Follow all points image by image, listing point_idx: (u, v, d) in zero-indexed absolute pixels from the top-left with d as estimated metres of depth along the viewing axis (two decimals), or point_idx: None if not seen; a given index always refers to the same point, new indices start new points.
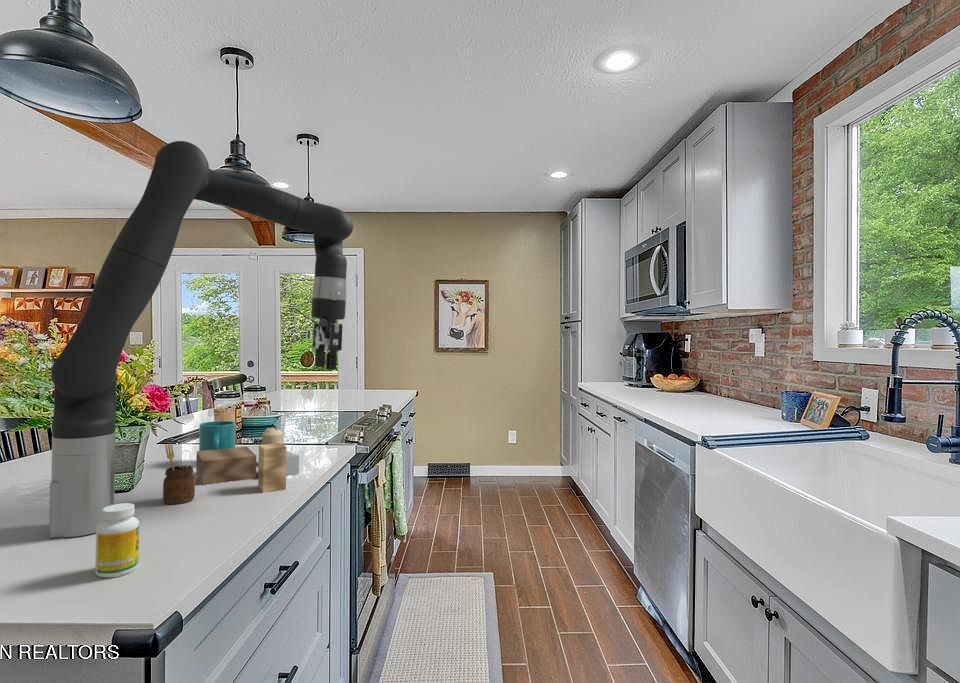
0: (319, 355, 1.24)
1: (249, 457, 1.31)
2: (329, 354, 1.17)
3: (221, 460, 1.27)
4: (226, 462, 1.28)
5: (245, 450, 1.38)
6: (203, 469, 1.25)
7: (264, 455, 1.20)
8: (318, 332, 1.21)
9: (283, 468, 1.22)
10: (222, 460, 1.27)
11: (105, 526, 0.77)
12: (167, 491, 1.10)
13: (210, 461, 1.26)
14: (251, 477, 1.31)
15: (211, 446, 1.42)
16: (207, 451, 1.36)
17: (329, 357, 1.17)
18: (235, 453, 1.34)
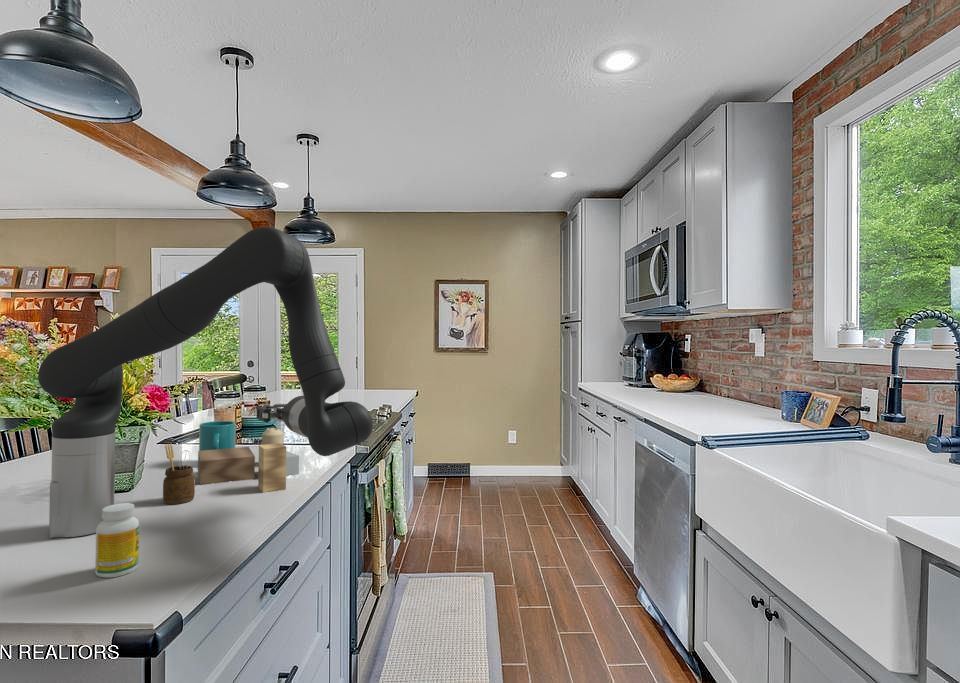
0: None
1: (247, 457, 1.30)
2: None
3: (219, 460, 1.27)
4: (224, 462, 1.28)
5: (246, 450, 1.37)
6: (201, 469, 1.25)
7: (264, 455, 1.20)
8: None
9: (283, 468, 1.22)
10: (220, 460, 1.27)
11: (105, 526, 0.77)
12: (167, 491, 1.10)
13: (208, 461, 1.26)
14: (249, 477, 1.31)
15: (211, 446, 1.42)
16: (208, 451, 1.36)
17: None
18: (235, 453, 1.34)
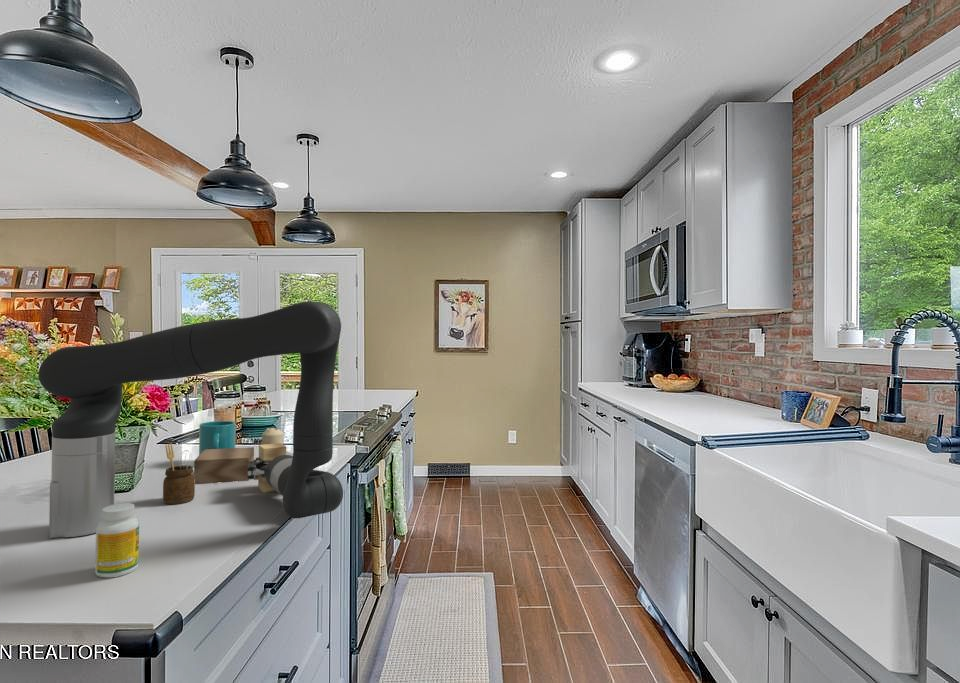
0: None
1: (241, 459, 1.29)
2: None
3: (213, 460, 1.27)
4: (217, 463, 1.27)
5: (247, 451, 1.37)
6: (195, 468, 1.26)
7: (264, 455, 1.20)
8: None
9: None
10: (214, 460, 1.27)
11: (105, 526, 0.77)
12: (167, 491, 1.10)
13: (202, 461, 1.26)
14: (243, 479, 1.29)
15: (211, 446, 1.42)
16: (213, 450, 1.37)
17: None
18: (234, 454, 1.33)
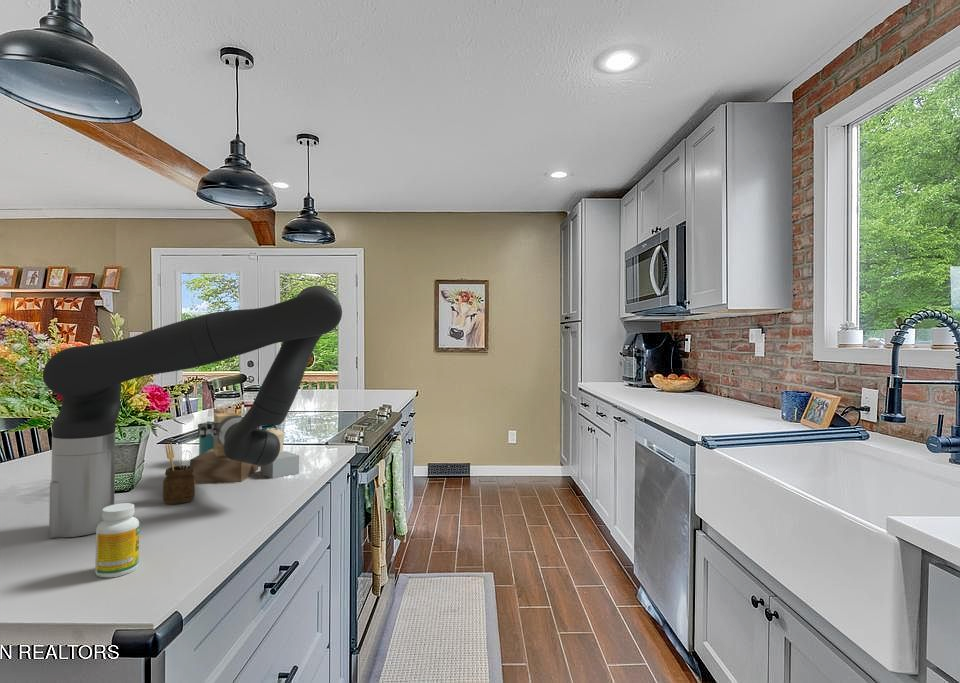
0: None
1: (234, 460, 1.28)
2: None
3: (207, 460, 1.27)
4: (211, 463, 1.27)
5: None
6: None
7: None
8: None
9: None
10: (208, 460, 1.27)
11: (105, 526, 0.77)
12: (167, 491, 1.10)
13: (197, 460, 1.27)
14: (236, 481, 1.28)
15: (211, 446, 1.42)
16: None
17: (206, 424, 1.31)
18: None
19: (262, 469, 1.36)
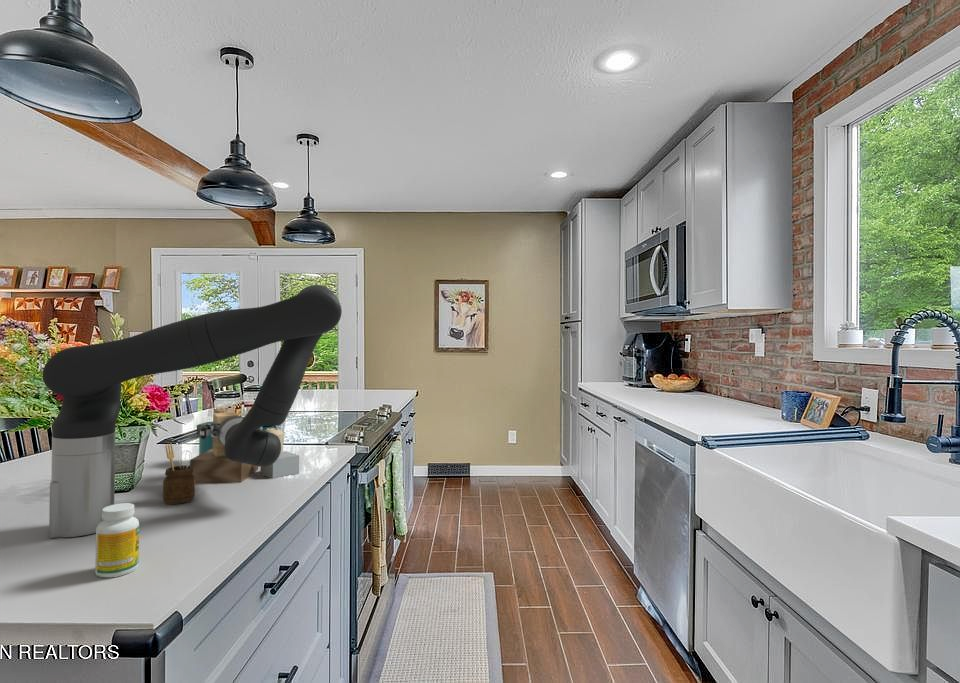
0: None
1: None
2: None
3: (207, 460, 1.27)
4: (211, 463, 1.27)
5: None
6: None
7: None
8: None
9: None
10: (208, 460, 1.27)
11: (105, 526, 0.77)
12: (167, 491, 1.10)
13: (197, 460, 1.27)
14: (236, 481, 1.28)
15: (211, 446, 1.42)
16: None
17: (205, 425, 1.30)
18: None
19: (262, 469, 1.36)
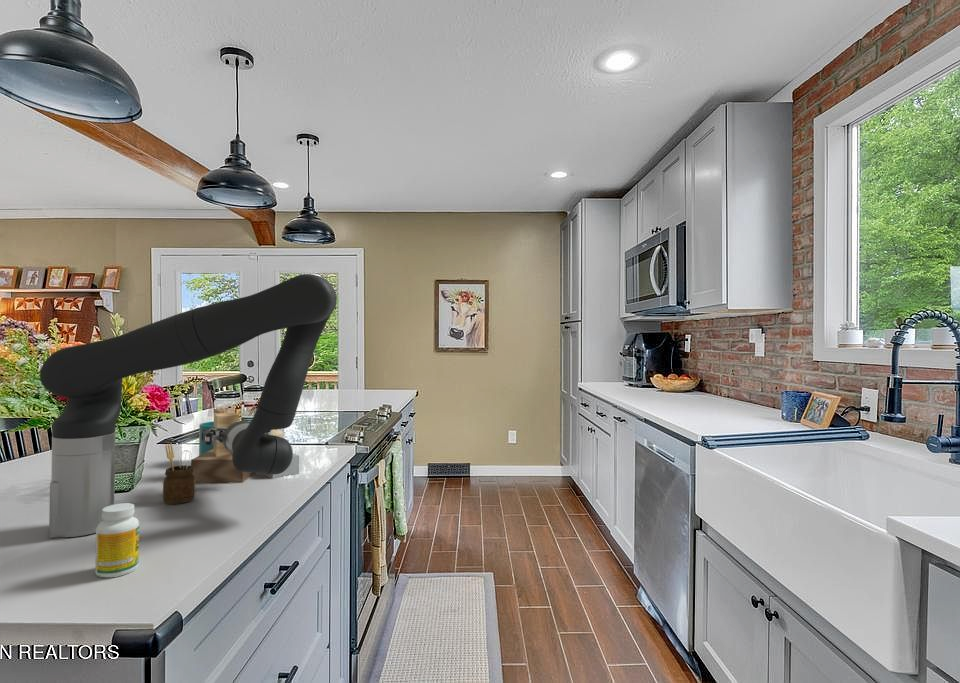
0: None
1: None
2: None
3: (208, 460, 1.27)
4: (213, 463, 1.27)
5: None
6: None
7: (217, 422, 1.30)
8: None
9: None
10: (209, 460, 1.27)
11: (105, 526, 0.77)
12: (167, 491, 1.10)
13: (198, 460, 1.27)
14: (238, 481, 1.28)
15: (211, 446, 1.42)
16: None
17: (210, 430, 1.23)
18: None
19: None
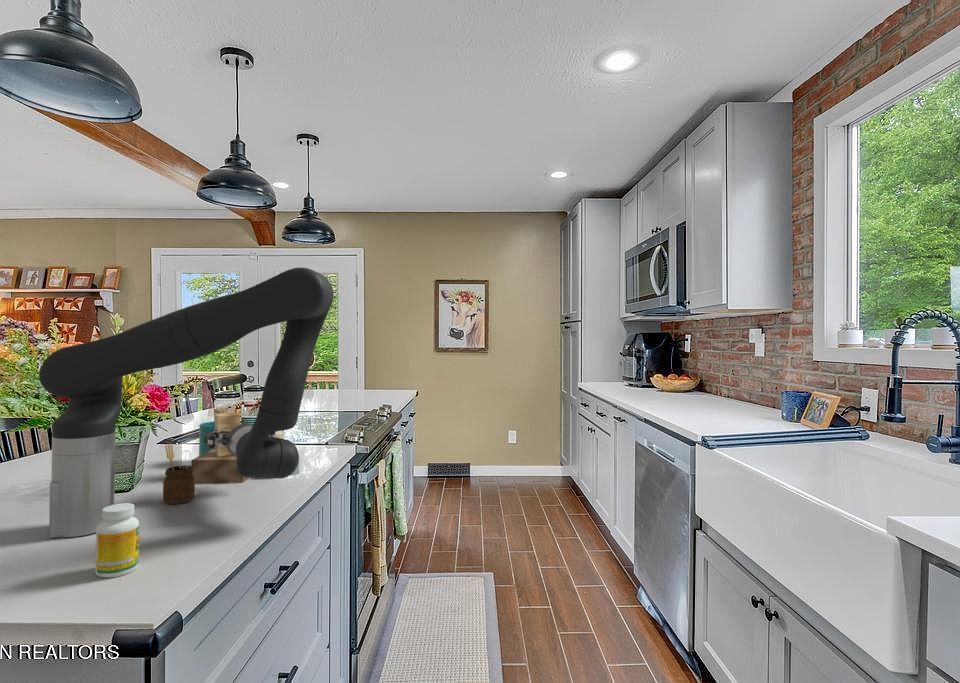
0: None
1: (236, 460, 1.28)
2: None
3: (209, 460, 1.27)
4: (213, 463, 1.27)
5: None
6: None
7: (218, 422, 1.30)
8: None
9: None
10: (210, 461, 1.27)
11: (105, 526, 0.77)
12: (167, 491, 1.10)
13: (199, 460, 1.27)
14: (238, 481, 1.28)
15: None
16: None
17: (213, 433, 1.19)
18: None
19: None
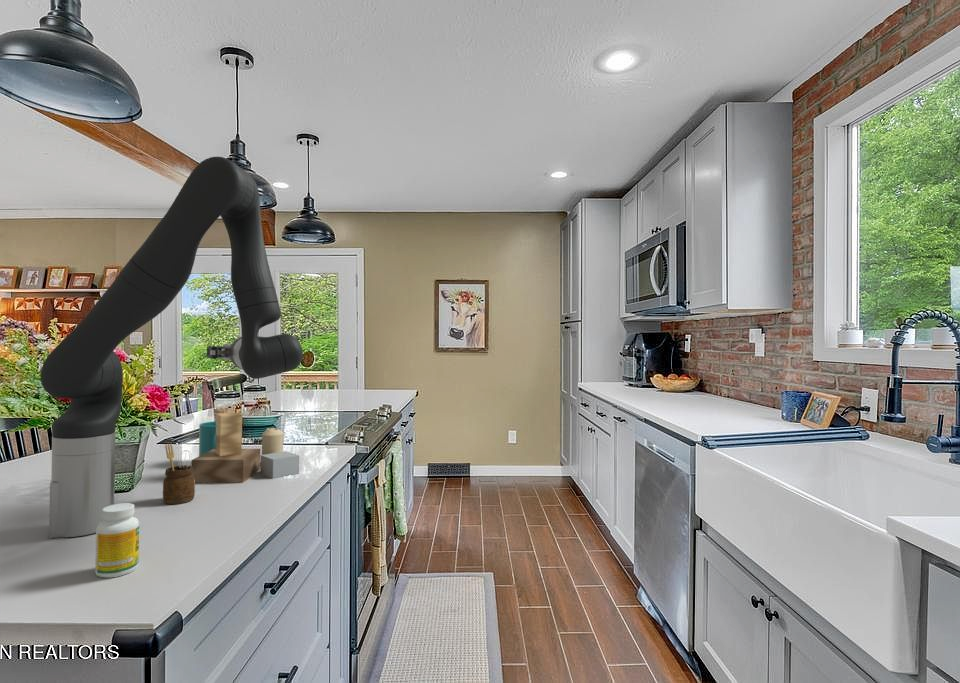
0: None
1: (236, 460, 1.27)
2: None
3: (209, 461, 1.27)
4: (213, 463, 1.27)
5: (249, 452, 1.35)
6: None
7: (221, 421, 1.31)
8: None
9: (239, 434, 1.33)
10: (210, 461, 1.27)
11: (105, 526, 0.77)
12: (167, 491, 1.10)
13: (199, 460, 1.27)
14: (238, 481, 1.28)
15: (211, 446, 1.42)
16: None
17: None
18: (234, 455, 1.33)
19: (262, 469, 1.36)
